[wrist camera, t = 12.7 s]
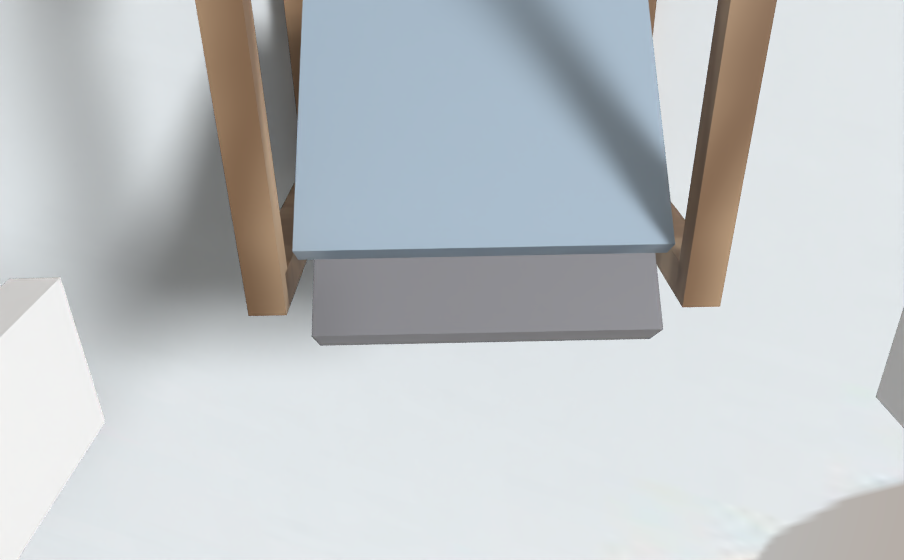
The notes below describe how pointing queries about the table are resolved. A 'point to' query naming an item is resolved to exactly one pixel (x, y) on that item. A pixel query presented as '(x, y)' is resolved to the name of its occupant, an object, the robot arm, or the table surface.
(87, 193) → the table surface
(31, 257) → the table surface
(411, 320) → the plate
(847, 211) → the table surface
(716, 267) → the frame
